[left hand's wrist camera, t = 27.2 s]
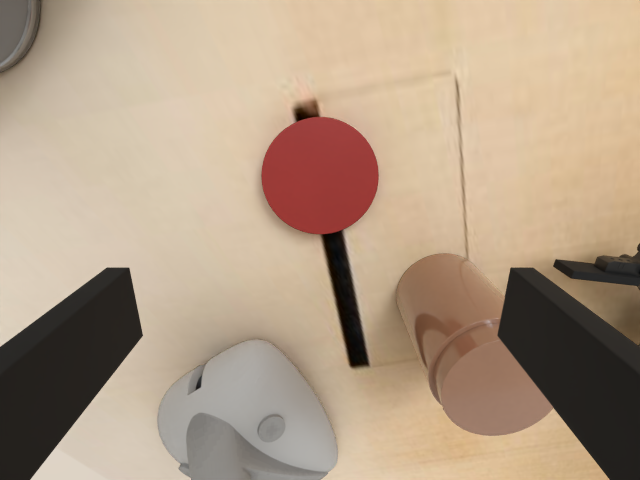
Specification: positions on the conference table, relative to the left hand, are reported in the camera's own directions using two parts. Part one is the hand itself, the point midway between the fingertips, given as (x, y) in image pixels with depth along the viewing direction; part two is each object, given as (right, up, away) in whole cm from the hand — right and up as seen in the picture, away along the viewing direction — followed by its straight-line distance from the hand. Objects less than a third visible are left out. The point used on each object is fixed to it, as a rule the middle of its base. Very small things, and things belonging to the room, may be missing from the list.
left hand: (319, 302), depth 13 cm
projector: (-7, -19, +35) cm, 40 cm away
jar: (+14, -4, +29) cm, 33 cm away
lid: (0, +8, +23) cm, 24 cm away
